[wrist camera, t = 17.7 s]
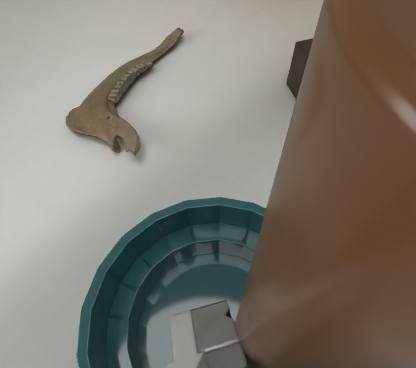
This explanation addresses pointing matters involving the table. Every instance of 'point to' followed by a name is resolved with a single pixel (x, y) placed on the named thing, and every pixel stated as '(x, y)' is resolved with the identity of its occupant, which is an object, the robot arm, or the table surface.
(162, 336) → the bowl
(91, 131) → the jawbone
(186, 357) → the robot arm
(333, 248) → the stick
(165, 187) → the table surface
